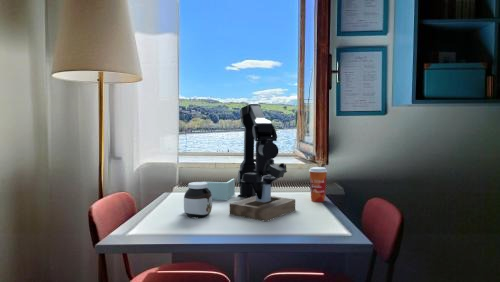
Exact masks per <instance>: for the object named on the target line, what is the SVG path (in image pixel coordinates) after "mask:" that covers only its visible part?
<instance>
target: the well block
mask: <svg viewBox="0 0 500 282" xmlns="http://www.w3.org/2000/svg"><path fill="white" fill-rule="evenodd" d="M293 211H296V199H295V198H289V197H288V198H287V197H282V196H281V197H279V196H274V195H271V201H268V202H259V201H256V196H254V197H250V198H247V197H246V198H244V199H241V200H237V201H233V202H230V203H229V215H232V216H236V217H242V218H247V219H251V218H252V220H257V219H258V220H257V221H262V220H264V221H263V222H268V220H269V221H271V220H274V219H276V218H278V217H281V216H284V215H286V214H289V213H291V212H293ZM273 218H274V219H273ZM270 219H271V220H270Z"/></svg>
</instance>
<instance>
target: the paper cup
mask: <svg viewBox="0 0 500 282" xmlns="http://www.w3.org/2000/svg"><path fill="white" fill-rule="evenodd" d="M308 172H309V183H310V199H311V202H315V203H322V202H323V203H324V202H325V199H326V185H327V173H328V170H327V168H326V167H322V166H314V167H313V166H312V167H310V168H309V170H308Z"/></svg>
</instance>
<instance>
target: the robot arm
mask: <svg viewBox="0 0 500 282" xmlns="http://www.w3.org/2000/svg"><path fill="white" fill-rule="evenodd" d="M239 110H240V111H239V118H240V122H241V124H242V126H243V128H244V130H243V131H244V132H243V133H244V135H243V138H244V139H243V160H242V162H241V163H240V165H239V170H238V172H237V177H236V179H237V184H239V194H237V197H240V198H241V197H242V198H246V199H247V198H250V197H254V196H256V195H257V197H258V199H261V198H262V189H263V185H264V184H270V185H271V187H272V185H273V183H274V182H275V181H278V179H280V178H284V175H285V174H286V173H287V164H286V163H284V162H283V163H281V162H280V163H279V164H276V163H275V160H274V159H275V158H276V157H277V156H278V154H279V151H280V150H279V147H278V145H277V144H275V142H277V141H278V140H277V139H278V134H277V131H276V128H275V126H274V125H273V123H272V121H271V120H269V119H267V118H266V117H265V115H264V113H263V110H262V107H261V103H259V102H258V103H257V102H253V103H252V102H249V103H247V105H245V106H242V107H241V109H239Z"/></svg>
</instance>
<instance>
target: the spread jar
mask: <svg viewBox="0 0 500 282" xmlns="http://www.w3.org/2000/svg"><path fill="white" fill-rule="evenodd" d="M206 182H207V181H193V182H189V183H188V184H187V185H188V186H187V187H188V189H187V190H186V191H185V193H184V195H183V211H184V214H185V215H186V216H188V217H189V218H192V219H202V218H206V217H208V216H209V215H210V214H211V212H212V210H213V199H212V194H211V191H210V190H209V189H208V188H207V187H208V183H206Z"/></svg>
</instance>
